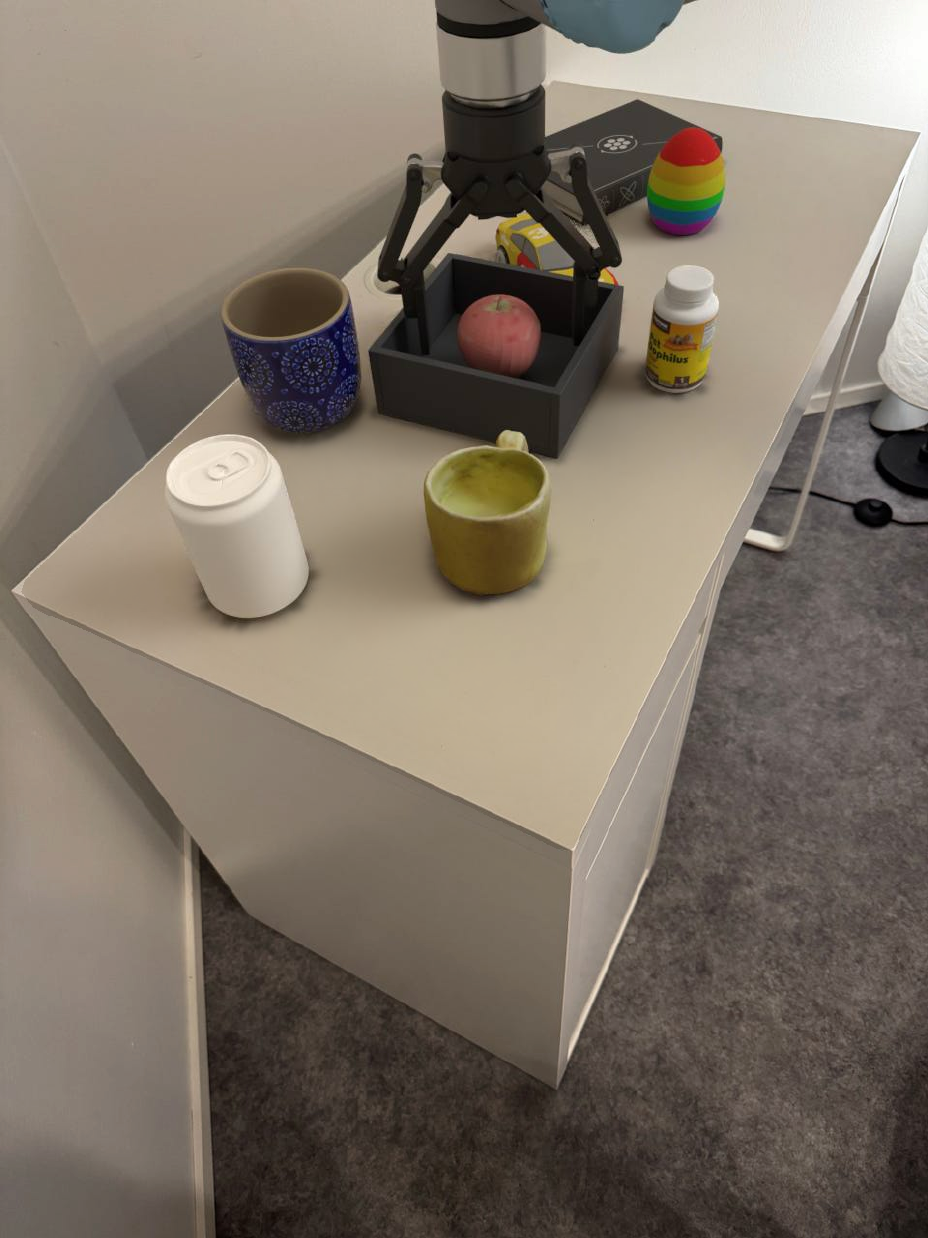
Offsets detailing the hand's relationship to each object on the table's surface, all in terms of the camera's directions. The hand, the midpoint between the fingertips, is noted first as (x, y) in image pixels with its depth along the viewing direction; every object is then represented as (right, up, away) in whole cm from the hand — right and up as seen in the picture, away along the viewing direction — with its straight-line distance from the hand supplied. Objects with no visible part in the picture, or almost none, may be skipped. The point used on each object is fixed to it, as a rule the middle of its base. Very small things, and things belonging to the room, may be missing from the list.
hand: (501, 341), depth 81 cm
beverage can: (-19, -22, -10) cm, 31 cm away
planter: (-18, -6, +3) cm, 19 cm away
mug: (-1, -19, -9) cm, 21 cm away
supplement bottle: (+16, -3, +3) cm, 17 cm away
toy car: (+6, +10, +13) cm, 18 cm away
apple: (0, -2, +3) cm, 4 cm away
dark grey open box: (0, -3, +4) cm, 4 cm away
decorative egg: (+21, +19, +19) cm, 34 cm away
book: (+15, +29, +28) cm, 43 cm away
